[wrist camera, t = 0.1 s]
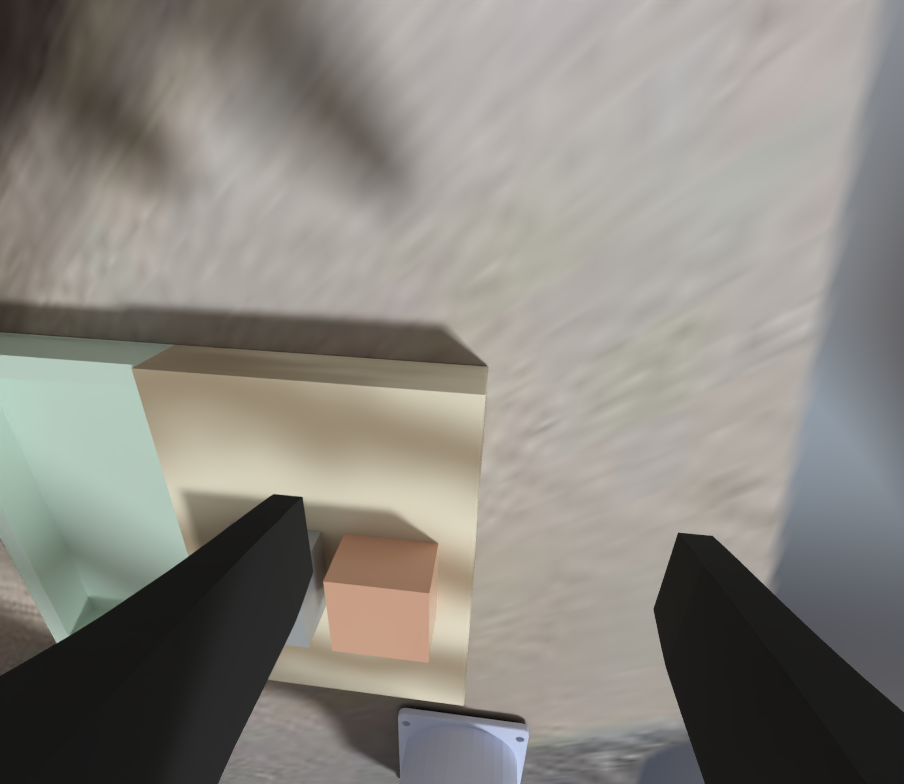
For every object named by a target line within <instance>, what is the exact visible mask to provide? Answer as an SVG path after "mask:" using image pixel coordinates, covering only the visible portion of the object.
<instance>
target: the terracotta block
mask: <svg viewBox="0 0 904 784" xmlns="http://www.w3.org/2000/svg"><path fill="white" fill-rule="evenodd" d="M438 546H439V543H430V542H421V541H411V540H401V539H392V538H382V537H372V536H363V535H353V534H344V536H343V538H342V540H341V542H340V545H339V547H338V549H337V551H336V554H335V556H334V558H333V560H332V563H331V565H330V567H329V569H328V572H327V574H326V576H325V578H324V581H323V584H324V592H325V599H326V607H327V615H328V622H329V630H330V637H331V645H332V651H338V652H346V653H354V654H362V655H370V656H378V657H386V658H394V659H402V660H410V661H418V662H426V663H429V657H430V651H431V644H432V638H433V632H434V626H435V619H436V613H437V590H438Z"/></svg>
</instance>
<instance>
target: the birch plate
mask: <svg viewBox="0 0 904 784" xmlns="http://www.w3.org/2000/svg"><path fill="white" fill-rule="evenodd" d="M131 369H132V372H133V376H134V379H135V382H136V385H137V389H138V392H139V395H140V399H141V402H142V405H143V409H144V412H145V415H146V418H147V422H148V425H149V428H150V432H151V435H152V438H153V441H154V445H155V448H156V451H157V455H158V458H159V461H160V464H161V468H162V471H163V474H164V478H165V481H166V484H167V487H168V491H169V494H170V497H171V501H172V504H173V507H174V511H175V514H176V517H177V520H178V524H179V527H180V530H181V534H182V537H183V540H184V543H185V547H186V550H187V553H188V556H190V555H191V554H192V553H194V552H195V551H196V550H198V549H199V548H201V547H202V546H203V545H205V544H206V543H207V542H209V541H210V540H212V539H213V538H214V537H216V536H217V535H218V534H220V533H221V532H222V531H224V530H225V529H226V528H227V527H228V525H229V524H230V523H231V522H236V521H237V520H238V519H240V518H241V517H242V516H244V515H245V514H246V513H248V512H249V511H250V510H252V509H253V508H254V507H256V506H257V505H259V504H260V503H261V502H263V501H264V500H265V499H267V498H268V497H270V496H271V495H273V494H279V495H289V496H299V497H303V503H304V510H305V516H306V523H307V530H314V531H321V533H322V541H323V549H324V556H325V564H326V572H328V569H329V567H330V565H331V563H332V560H333V558H334V556H335V554H336V551H337V549H338V547H339V545H340V542H341V540H342V538H343V536H344V534H353V535H363V536H372V537H382V538H392V539H401V540H411V541H421V542H430V543H439V546H438V590H437V613H436V619H435V626H434V632H433V638H432V644H431V651H430V657H429V663H426V662H418V661H410V660H402V659H394V658H386V657H378V656H370V655H362V654H354V653H346V652H338V651H332V645H331V637H330V630H329V622H328V615H327V607H325V610H324V612H323V615H322V617H321V619H320V622H319V624H318V627H317V629H316V631H315V634H314V636H313V639H312V641H311V644H310V646H309V648H306V647H298V646H290V645H284V647H283V649H282V652H281V654H280V656H279V658H278V660H277V662H276V664H275V666H274V668H273V670H272V672H271V674H270V676H269V678H268V680H273V681H280V682H288V683H295V684H303V685H310V686H318V687H326V688H333V689H341V690H348V691H356V692H363V693H371V694H378V695H386V696H393V697H401V698H408V699H416V700H424V701H431V702H439V703H446V704H454V705H461V706H464V696H465V684H466V672H467V659H468V645H469V631H470V617H471V603H472V589H473V574H474V560H475V546H476V532H477V518H478V504H479V489H480V475H481V461H482V447H483V433H484V418H485V404H486V390H487V376H488V367H486V366H471V365H457V364H443V363H429V362H415V361H400V360H386V359H372V358H358V357H344V356H329V355H315V354H301V353H287V352H273V351H258V350H244V349H230V348H216V347H202V346H187V345H174V346H172V347H170V348H168V349H166V350H164V351H162V352H161V353H159V354H157V355H155V356H153V357H151V358H149V359H148V360H146V361H144V362H142V363H140V364H138V365H137V366H135V367H133V368H131Z"/></svg>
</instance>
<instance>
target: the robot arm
mask: <svg viewBox="0 0 904 784" xmlns="http://www.w3.org/2000/svg"><path fill="white" fill-rule="evenodd" d="M312 575H313V565H312V558H311V551H310V544H309V537H308V530H307V523H306V516H305V510H304V503H303V497H299V496H289V495H279V494H273V495H271V496H270V497H268V498H267V499H265V500H264V501H263V502H261V503H260V504H259V505H257V506H256V507H254V508H253V509H252V510H250V511H249V512H248V513H246V514H245V515H244V516H242V517H241V518H240V519H238V520H237V521H236V522H234V523H233V524H232V525H230V526H229V527H228V528H226V529H225V530H224V531H222V532H221V533H220V534H218V535H217V536H216V537H214V538H213V539H212V540H210V541H209V542H207V543H206V544H205V545H203V546H202V547H201V548H199V549H198V550H196V551H195V552H194V553H192V554H191V555H190V556H188V557H187V558H185V559H184V560H183V561H181V562H180V563H179V564H177V565H176V566H174V567H173V568H172V569H170V570H169V571H167V572H166V573H164V574H163V575H161V576H160V577H158V578H157V579H155V580H154V581H153V582H151V583H150V584H148V585H147V586H145V587H144V588H142V589H141V590H139V591H138V592H136V593H135V594H133V595H132V596H130V597H129V598H127V599H126V600H124V601H123V602H121V603H120V604H119V605H117V606H116V607H114V608H113V609H111V610H110V611H108V612H107V613H105V614H103V615H102V616H100V617H99V618H97V619H96V620H94V621H92V622H91V623H89V624H88V625H86V626H84V627H83V628H81V629H80V630H78V631H76V632H75V633H73V634H72V635H70V636H68V637H67V638H65V639H63V640H62V641H60V642H58V643H56V644H55V645H53V646H51V647H50V648H48V649H46V650H45V651H43V652H41V653H40V654H38V655H36V656H34V657H33V658H31V659H29V660H28V661H26V662H24V663H23V664H21V665H19V666H17V667H15V668H14V669H12V670H10V671H8V672H7V673H5V674H3V675H1V676H0V784H218V783H219V780H220V778H221V776H222V773H223V771H224V769H225V767H226V765H227V762H228V760H229V758H230V756H231V753H232V751H233V749H234V747H235V745H236V743H237V741H238V739H239V737H240V735H241V733H242V731H243V729H244V727H245V725H246V723H247V721H248V719H249V716H250V714H251V712H252V710H253V708H254V706H255V704H256V702H257V700H258V698H259V696H260V694H261V692H262V690H263V688H264V686H265V684H266V682H267V680H268V678H269V676H270V674H271V672H272V670H273V668H274V666H275V664H276V662H277V660H278V658H279V656H280V654H281V652H282V649H283V647H284V645H285V643H286V641H287V639H288V637H289V635H290V633H291V631H292V629H293V627H294V625H295V622H296V620H297V617H298V614H299V612H300V609H301V606H302V604H303V601H304V598H305V595H306V592H307V589H308V586H309V583H310V581H311V578H312ZM654 614H655V619H656V624H657V629H658V634H659V639H660V643H661V648H662V652H663V657H664V661H665V665H666V669H667V672H668V675H669V678H670V681H671V684H672V687H673V690H674V693H675V696H676V699H677V702H678V705H679V708H680V711H681V714H682V717H683V720H684V723H685V726H686V729H687V732H688V735H689V738H690V741H691V744H692V747H693V750H694V753H695V756H696V759H697V762H698V764H699V767H700V770H701V773H702V776H703V779H704V782H705V784H904V712H903V711H901V710H900V709H899V708H898V707H897V706H896V705H895V704H893V703H892V702H891V701H890V700H889V699H888V698H886V697H885V696H884V695H883V694H882V693H881V692H880V691H878V690H877V689H876V688H875V687H874V686H872V684H870V683H869V682H868V681H867V680H866V679H864V678H863V677H862V676H861V675H860V674H859V673H858V672H857V671H856V670H854V669H853V668H852V667H851V666H850V665H849V664H848V663H846V661H844V660H843V659H842V658H841V657H840V656H839V655H838V654H837V653H836V652H834V651H833V650H832V649H831V648H830V647H829V646H828V645H827V644H826V643H825V642H823V640H821V639H820V638H819V637H818V636H817V635H816V634H815V633H814V632H813V631H812V630H811V629H810V628H808V626H806V625H805V624H804V623H803V622H802V621H801V620H800V619H799V618H798V617H797V616H796V615H795V614H794V613H793V612H792V611H791V610H790V609H789V608H787V607H786V606H785V605H784V604H783V603H782V602H781V601H780V600H779V599H778V598H777V597H776V596H775V595H774V594H773V593H772V592H771V591H770V590H769V589H768V588H767V587H766V586H765V585H764V584H763V583H761V582H760V581H759V580H758V579H757V578H756V577H755V576H754V575H753V574H752V573H751V572H750V571H749V570H748V569H747V568H746V567H745V566H744V565H743V564H742V563H741V562H740V561H739V560H738V559H737V558H736V557H735V556H734V555H732V554H731V553H730V552H729V551H728V550H727V549H726V548H725V547H724V546H723V545H722V544H721V543H720V542H719V541H717V540H716V539H715V538H714V537H713V536H707V535H696V534H686V533H678V535H677V538H676V541H675V544H674V547H673V550H672V554H671V557H670V560H669V563H668V566H667V569H666V572H665V575H664V578H663V582H662V585H661V588H660V591H659V594H658V597H657V600H656V603H655V606H654ZM398 732H399V758H400V781H399V784H520V781H521V776H522V771H523V765H524V760H525V754H526V749H527V743H528V738H529V728H528V726H527V725H525V724H522V723H516V722H508V721H501V720H493V719H486V718H479V717H471V716H464V715H456V714H449V713H441V712H434V711H426V710H419V709H412V708H402V709H400V710H399V714H398Z"/></svg>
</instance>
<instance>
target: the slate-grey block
mask: <svg viewBox="0 0 904 784" xmlns="http://www.w3.org/2000/svg"><path fill="white" fill-rule="evenodd" d="M233 523H234V522H231V523H230V524H229V525H228V527H229V526H230V525H232V524H233ZM228 527H227V528H228ZM308 537H309V544H310V551H311V558H312V565H313V575H312V578H311V581H310V583H309V586H308V589H307V592H306V595H305V598H304V601H303V604H302V606H301V609H300V612H299V614H298V617H297V620H296V622H295V625H294V627H293V629H292V631H291V633H290V635H289V637H288V639H287V641H286V643H285V645H290V646H298V647H306V648H309V646H310V644H311V641H312V639H313V636H314V634H315V631H316V629H317V627H318V624H319V622H320V619H321V617H322V615H323V612H324V610H325V607H326V599H325V592H324V584H323V581H324V578H325V576H326V574H327V572H326V564H325V556H324V549H323V541H322V533H321V531H314V530H308Z"/></svg>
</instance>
